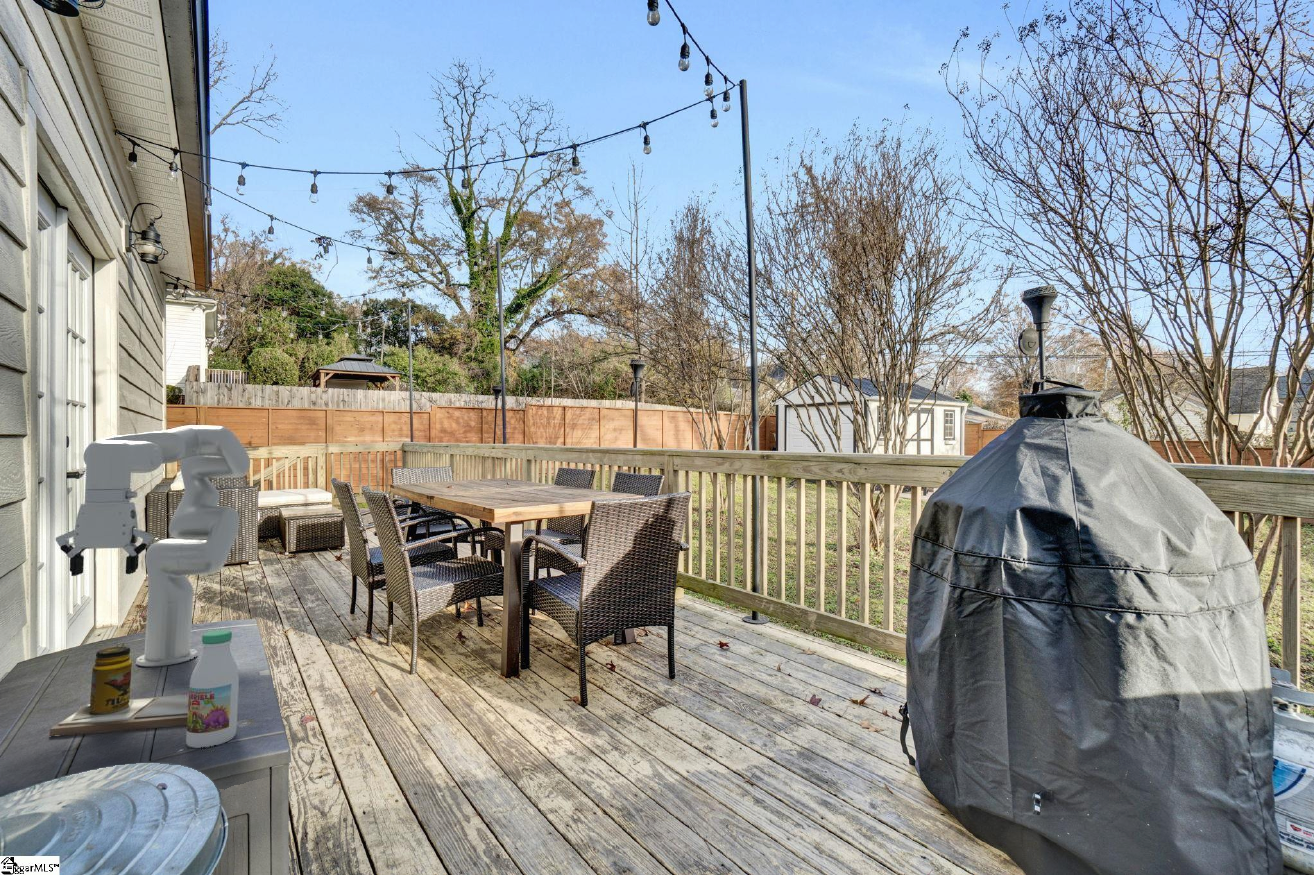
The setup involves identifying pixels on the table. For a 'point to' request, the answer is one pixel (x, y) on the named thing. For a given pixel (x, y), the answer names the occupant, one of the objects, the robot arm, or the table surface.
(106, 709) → the condiment
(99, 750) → the table surface
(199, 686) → the milk bottle
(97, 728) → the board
